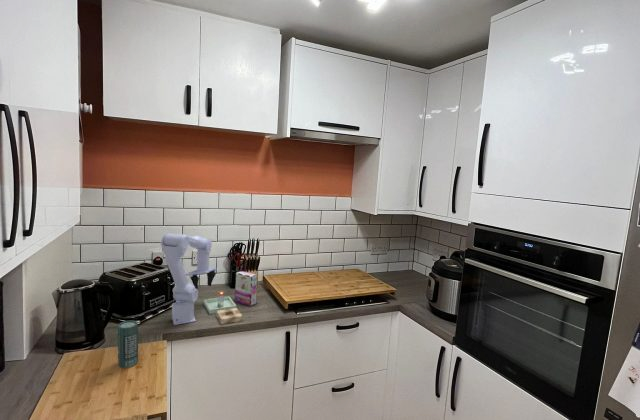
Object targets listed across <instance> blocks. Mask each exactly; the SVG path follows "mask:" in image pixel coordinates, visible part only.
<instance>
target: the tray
mask: <svg viewBox="0 0 640 420" xmlns="http://www.w3.org/2000/svg"><path fill="white" fill-rule="evenodd" d="M217 304H218V297H215V298H208V299H204V300H203V305H204V307H205V309H206V311H207V313H208V315H216V311H219V310H225V309H232V308H237V304H236V303H235V301H233V299H232V298H231V297H230V296H224V306H223V307H221V308H218V307H217Z"/></svg>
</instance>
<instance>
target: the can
mask: <svg viewBox="0 0 640 420" xmlns="http://www.w3.org/2000/svg"><path fill="white" fill-rule="evenodd" d="M138 363H139V322H138V321H136V320H125V321H122V322H120V323H118V325H117V366H118V367H119V368H122V369H123V368H124V369H127V368H128V369H129V368H131V367H134V366H136V365H137V364H138Z"/></svg>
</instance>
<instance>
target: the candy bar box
mask: <svg viewBox="0 0 640 420" xmlns="http://www.w3.org/2000/svg"><path fill="white" fill-rule="evenodd" d="M234 290H235V292H234V294H235V295H234V303H235V302H236V303H238V304H242V305H245V306H248V307H252V306H255V305H256V304H257V295H258V293H257V292H258V291H257V290H258V274H256V273H252V272H247V271H244V270H241V271H237V272H236V273H235V289H234Z"/></svg>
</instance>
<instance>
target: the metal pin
mask: <svg viewBox="0 0 640 420" xmlns="http://www.w3.org/2000/svg"><path fill="white" fill-rule="evenodd" d="M216 295H217V298H218V304H217V307H218V308H221V307H223V306H224V297H225V291H224V290H218V291H217V292H216Z"/></svg>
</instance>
